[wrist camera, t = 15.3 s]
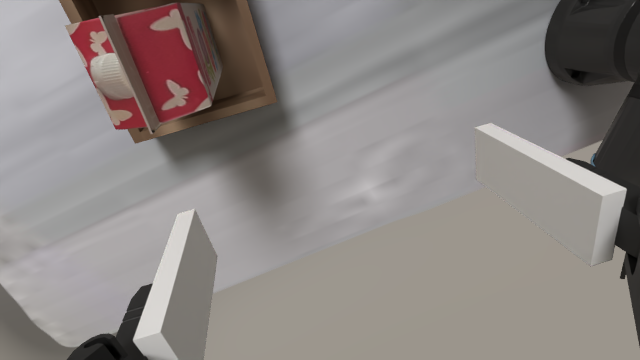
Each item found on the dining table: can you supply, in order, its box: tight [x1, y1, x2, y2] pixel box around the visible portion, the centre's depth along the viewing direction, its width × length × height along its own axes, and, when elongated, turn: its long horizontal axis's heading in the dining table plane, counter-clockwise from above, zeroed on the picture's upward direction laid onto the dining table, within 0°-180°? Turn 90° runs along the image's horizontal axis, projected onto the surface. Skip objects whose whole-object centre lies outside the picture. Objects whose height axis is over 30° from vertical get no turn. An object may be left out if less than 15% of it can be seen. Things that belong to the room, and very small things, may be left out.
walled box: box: [59, 0, 277, 143], centre depth 37 cm, size 16×16×6 cm
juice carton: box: [65, 3, 223, 134], centre depth 30 cm, size 7×7×22 cm
